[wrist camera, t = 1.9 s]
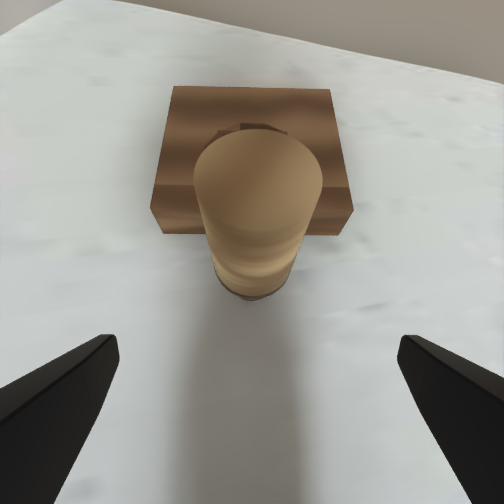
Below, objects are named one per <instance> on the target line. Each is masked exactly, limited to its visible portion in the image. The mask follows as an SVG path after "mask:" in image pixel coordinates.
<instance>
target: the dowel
mask: <svg viewBox="0 0 504 504" xmlns="http://www.w3.org/2000/svg"><path fill="white" fill-rule="evenodd" d="M193 182H194V187H195V192H196V196H197V199H198V203H199V207H200V211H201V215H202V219H203V223H204V227H205V231H206V235H207V239H208V243H209V247H210V251H211V255H212V259H213V263H214V267H215V272H216V275H217V277H218V279H219V281H220V282H221V284H222V285H223V286H224V287H225V288H226V289H227V290H228V291H230V292H231V293H233V294H235V295H237V296H239V297H241V298H242V299H245V300H249V301H253V300H258V299H261V298H263V297H266V296H269V295H271V294H273V293H275V292H276V291H278V290H279V289H280V288H281V287H282V286H283V285H284V283H285V282H286V280H287V278H288V276H289V274H290V271H291V268H292V265H293V263H294V260H295V258H296V255H297V252H298V250H299V247H300V245H301V242H302V240H303V237H304V235H305V232H306V230H307V227H308V224H309V222H310V219H311V217H312V214H313V212H314V209H315V207H316V204H317V202H318V199H319V196H320V194H321V190H322V183H323V178H322V172H321V168H320V165H319V163H318V161H317V159H316V158H315V156H314V155H313V154H312V153H311V151H310V150H309V149H308V148H307V147H306V146H304V145H303V144H302V143H300V142H299V141H297V140H296V139H294V138H292V137H290V136H288V135H286V134H283V133H280V132H276V131H272V130H265V129H247V130H241V131H236V132H233V133H230V134H227V135H225V136H223V137H221V138H219V139H217V140H216V141H214V142H213V143H211V144H210V145H209V146H208V147H207V148H206V149H205V150H204V151H203V152H202V154H201V155H200V157H199V158H198V160H197V162H196V165H195V168H194V174H193Z"/></svg>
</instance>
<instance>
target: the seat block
mask: <svg viewBox="0 0 504 504" xmlns="http://www.w3.org/2000/svg"><path fill="white" fill-rule="evenodd" d="M247 129H265V130H272V131H276V132H280V133H283V134H286V135H288V136H290V137H292V138H294V139H296V140H297V141H299V142H300V143H302V144H303V145H304V146H306V147H307V148H308V149H309V150H310V151H311V153H312V154H313V155H314V156H315V158H316V159H317V161H318V163H319V165H320V168H321V172H322V178H323V183H322V190H321V194H320V196H319V199H318V202H317V204H316V207H315V209H314V212H313V214H312V217H311V219H310V222H309V224H308V227H307V230H306V232H305V235H339V233H340V232H341V230H342V228H343V227H344V225H345V224H346V222H347V220H348V219H349V217H350V216H351V214H352V212H353V211H354V209H353V204H352V199H351V194H350V189H349V184H348V179H347V174H346V169H345V164H344V159H343V154H342V148H341V143H340V138H339V133H338V128H337V123H336V118H335V113H334V108H333V103H332V98H331V93H330V89H295V88H250V87H205V86H174V87H173V92H172V97H171V102H170V107H169V112H168V117H167V122H166V127H165V133H164V138H163V143H162V148H161V153H160V158H159V163H158V168H157V174H156V179H155V184H154V189H153V194H152V199H151V204H150V209H151V211H152V213H153V215H154V217H155V219H156V220H157V222H158V224H159V226H160V228H161V230H162V232H163V234H206V231H205V227H204V223H203V219H202V215H201V211H200V207H199V203H198V199H197V196H196V192H195V187H194V182H193V174H194V168H195V165H196V162H197V160H198V158H199V157H200V155H201V154H202V152H203V151H204V150H205V149H206V148H207V147H208V146H209V145H210V144H211V143H213V142H214V141H216V140H217V139H219V138H221V137H223V136H225V135H227V134H230V133H233V132H236V131H241V130H247Z"/></svg>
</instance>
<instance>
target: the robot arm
mask: <svg viewBox="0 0 504 504" xmlns="http://www.w3.org/2000/svg"><path fill="white" fill-rule="evenodd" d="M119 359H120V356H119V350H118V344H117V339H116V336H115V335H113V334H101V335H99V336H97V337H95V338H93V339H91V340H89V341H87V342H86V343H84V344H82V345H80V346H78V347H76V348H75V349H73V350H71V351H69V352H67V353H65V354H63V355H62V356H60V357H58V358H56V359H54V360H52V361H50V362H49V363H47V364H45V365H43V366H41V367H39V368H37V369H36V370H34V371H32V372H30V373H28V374H26V375H25V376H23V377H21V378H19V379H17V380H15V381H13V382H12V383H10V384H8V385H6V386H4V387H2V388H0V504H54V502H55V500H56V498H57V496H58V494H59V492H60V490H61V488H62V486H63V484H64V482H65V480H66V478H67V476H68V474H69V472H70V470H71V468H72V466H73V464H74V462H75V461H76V459H77V457H78V455H79V453H80V451H81V449H82V447H83V445H84V443H85V441H86V439H87V437H88V435H89V433H90V431H91V429H92V427H93V425H94V423H95V421H96V419H97V417H98V415H99V413H100V410H101V408H102V406H103V403H104V401H105V398H106V395H107V393H108V390H109V388H110V385H111V382H112V380H113V377H114V375H115V372H116V370H117V367H118V364H119ZM397 361H398V365H399V367H400V369H401V371H402V374H403V376H404V378H405V380H406V383H407V385H408V387H409V389H410V391H411V394H412V396H413V398H414V400H415V402H416V405H417V407H418V409H419V411H420V413H421V415H422V416H423V418H424V420H425V422H426V424H427V425H428V427H429V429H430V431H431V432H432V434H433V436H434V438H435V439H436V441H437V443H438V445H439V446H440V448H441V450H442V452H443V453H444V455H445V457H446V459H447V461H448V462H449V464H450V466H451V468H452V469H453V471H454V473H455V475H456V476H457V478H458V480H459V482H460V483H461V485H462V487H463V489H464V490H465V492H466V494H467V496H468V497H469V499H470V501H471V503H472V504H504V378H503V377H501V376H499V375H497V374H495V373H493V372H491V371H489V370H487V369H485V368H483V367H481V366H479V365H477V364H475V363H473V362H471V361H469V360H467V359H465V358H463V357H461V356H459V355H457V354H455V353H453V352H451V351H448V350H446V349H444V348H442V347H440V346H438V345H436V344H434V343H432V342H430V341H428V340H426V339H424V338H422V337H420V336H418V335H404V336H402V338H401V341H400V346H399V350H398V355H397Z"/></svg>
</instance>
